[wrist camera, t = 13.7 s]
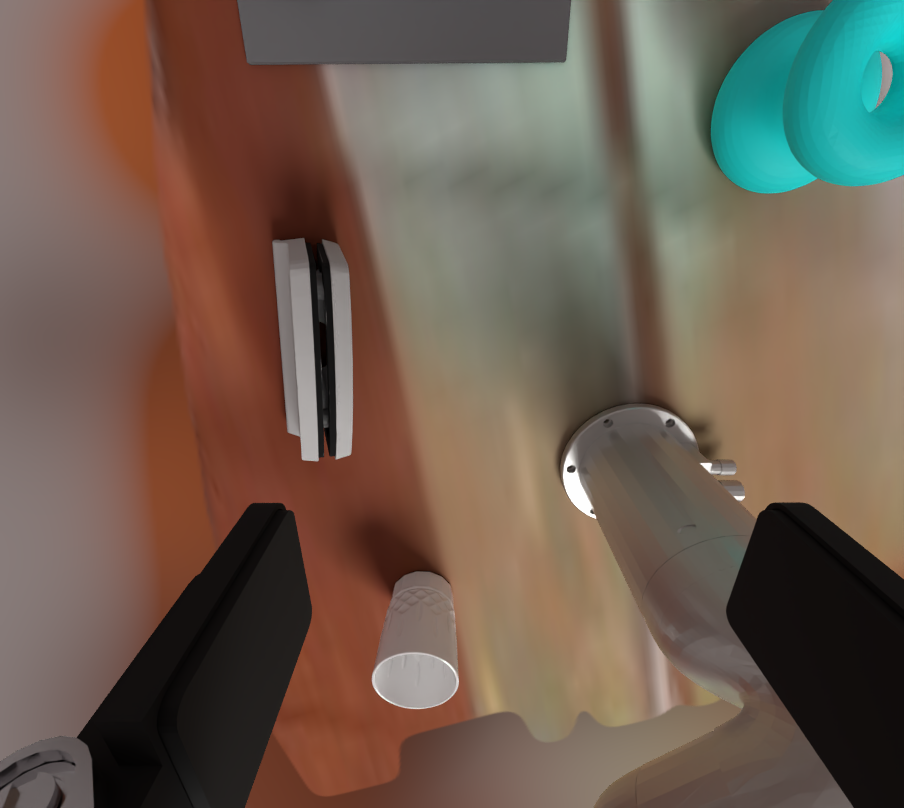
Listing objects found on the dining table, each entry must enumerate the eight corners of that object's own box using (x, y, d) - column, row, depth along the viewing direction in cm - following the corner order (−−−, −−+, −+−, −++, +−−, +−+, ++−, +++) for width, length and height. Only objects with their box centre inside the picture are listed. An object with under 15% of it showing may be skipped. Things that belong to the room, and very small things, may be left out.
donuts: (830, -47, 19) (1079, -104, 18) (706, 41, 28) (867, 6, 27) (798, 201, 23) (1001, 162, 22) (698, 206, 32) (838, 179, 31)
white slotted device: (272, 234, 33) (267, 245, 24) (335, 238, 34) (352, 250, 26) (287, 427, 39) (287, 489, 31) (340, 423, 41) (354, 481, 32)
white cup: (388, 616, 49) (373, 707, 40) (387, 564, 46) (370, 650, 37) (456, 619, 49) (456, 710, 40) (459, 567, 46) (460, 654, 37)
